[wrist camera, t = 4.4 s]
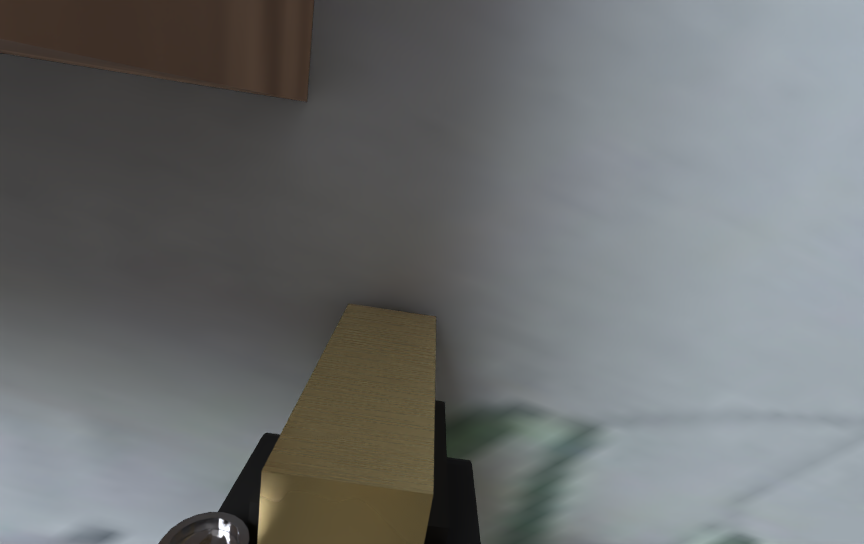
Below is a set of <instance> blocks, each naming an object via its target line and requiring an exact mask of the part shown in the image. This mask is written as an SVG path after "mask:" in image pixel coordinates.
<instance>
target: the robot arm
mask: <svg viewBox="0 0 864 544" xmlns="http://www.w3.org/2000/svg"><path fill="white" fill-rule="evenodd" d="M279 436H280V435H279V434H271V433H265V434H264V435H263V436H262V438H261V439H260V441H259V443H258V445H257V446H256V448H255V450H254V451H253V453H252V455H251V456H250V458H249V460H248V462H247V463H246V465H245V467H244V468H243V470H242V472H241V473H240V475H239V477H238V479H237V480H236V482H235V484H234V485H233V487H232V489H231V491H230V492H229V494H228V496H227V497H226V499H225V501H224V502H223V504H222V506H221V508H220V509H219V511H218V512H208V513H203V514H198V515H195V516H192V517H190V518H187V519H185V520H183V521H181V522H180V523H178V524H177V525H176V526H174V527H173V528H171V529H170V530H169V531H168V533H167V534H166V535H165V536H164V537H163V538H162V539H161V541H160V542H159V544H257V541H258V524H259V507H260V490H261V473H262V469H263V467H264V465H265V463H266V462H267V460H268V458H269V456H270V454H271V452H272V450H273V448H274V446H275V444H276V442H277V440H278V438H279ZM424 544H481V542H480V533H479V524H478V515H477V506H476V497H475V488H474V479H473V470H472V463H471V461H470V460H463V459H455V458H448V457H447V453H446V424H445V402H443V401H436V400H435V420H434V483H433V499H432V504H431V509H430V515H429V520H428V525H427V531H426V536H425V541H424Z"/></svg>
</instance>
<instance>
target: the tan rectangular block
mask: <svg viewBox="0 0 864 544" xmlns="http://www.w3.org/2000/svg"><path fill="white" fill-rule="evenodd" d="M435 356H436V317H435V316H428V315H422V314H415V313H408V312H402V311H395V310H388V309H381V308H375V307H368V306H361V305H355V304H348V306H347V308H346V310H345V311H344V313H343V315H342V317H341V319H340V321H339V323H338V325H337V327H336V329H335V331H334V333H333V335H332V336H331V338H330V340H329V342H328V344H327V346H326V348H325V350H324V352H323V354H322V356H321V358H320V360H319V361H318V363H317V365H316V367H315V369H314V371H313V373H312V375H311V377H310V379H309V381H308V383H307V385H306V386H305V388H304V390H303V392H302V394H301V396H300V398H299V400H298V402H297V404H296V406H295V408H294V410H293V411H292V413H291V415H290V417H289V419H288V421H287V423H286V425H285V427H284V429H283V431H282V433H281V435H280V436H279V438H278V440H277V442H276V444H275V446H274V448H273V450H272V452H271V454H270V456H269V458H268V460H267V462H266V463H265V465H264V467H263V469H262V473H261V490H260V507H259V524H258V541H257V544H424V541H425V536H426V531H427V525H428V520H429V515H430V509H431V504H432V499H433V483H434V420H435Z"/></svg>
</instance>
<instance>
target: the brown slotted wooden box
mask: <svg viewBox="0 0 864 544" xmlns="http://www.w3.org/2000/svg"><path fill="white" fill-rule="evenodd" d="M313 10H314V0H0V53H3V54H10V55H16V56H22V57H28V58H35V59H41V60H47V61H53V62H60V63H66V64H72V65H78V66H85V67H91V68H97V69H103V70H110V71H116V72H122V73H128V74H135V75H141V76H147V77H153V78H160V79H166V80H172V81H178V82H185V83H191V84H197V85H203V86H210V87H216V88H222V89H228V90H235V91H241V92H247V93H253V94H260V95H266V96H272V97H278V98H285V99H291V100H297V101H303V102H307V95H308V81H309V66H310V52H311V38H312V24H313Z"/></svg>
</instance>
